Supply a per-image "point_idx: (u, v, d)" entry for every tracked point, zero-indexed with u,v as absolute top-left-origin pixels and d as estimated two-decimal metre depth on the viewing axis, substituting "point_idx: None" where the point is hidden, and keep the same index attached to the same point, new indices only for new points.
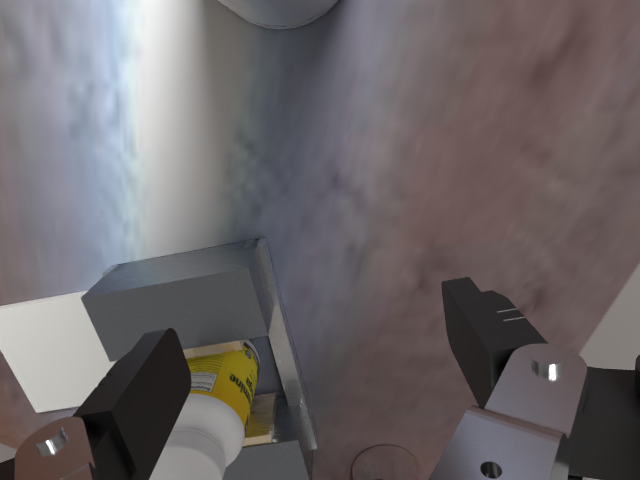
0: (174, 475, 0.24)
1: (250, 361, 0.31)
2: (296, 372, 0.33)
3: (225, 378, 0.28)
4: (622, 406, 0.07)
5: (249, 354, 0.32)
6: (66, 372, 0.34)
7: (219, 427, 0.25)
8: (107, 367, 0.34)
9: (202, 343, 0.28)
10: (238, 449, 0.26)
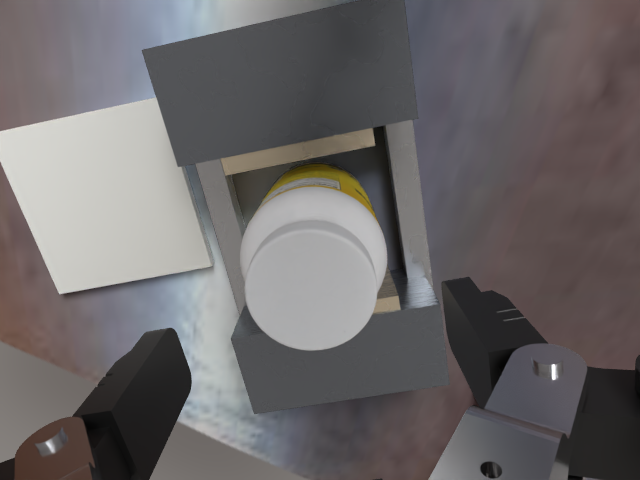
0: (300, 289, 0.14)
1: None
2: (424, 223, 0.24)
3: (351, 188, 0.19)
4: (622, 406, 0.07)
5: (363, 190, 0.23)
6: (103, 230, 0.25)
7: (360, 232, 0.16)
8: (159, 222, 0.25)
9: (318, 133, 0.19)
10: (381, 280, 0.17)
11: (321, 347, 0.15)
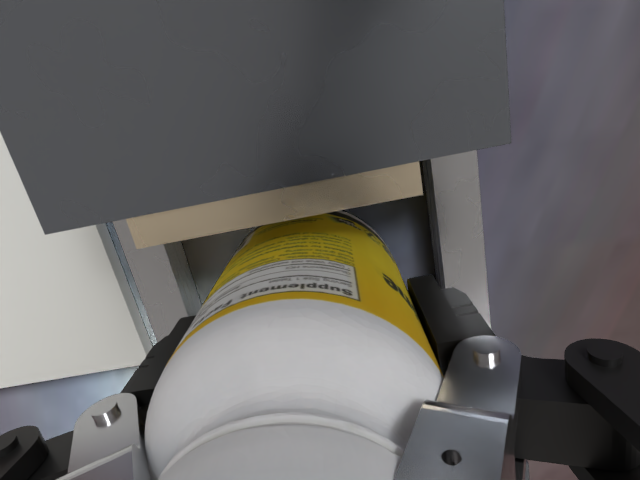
0: None
1: (397, 268, 0.13)
2: (487, 305, 0.14)
3: (377, 278, 0.10)
4: (551, 392, 0.07)
5: (390, 255, 0.13)
6: None
7: (407, 414, 0.07)
8: (63, 299, 0.16)
9: (311, 172, 0.09)
10: None
11: None
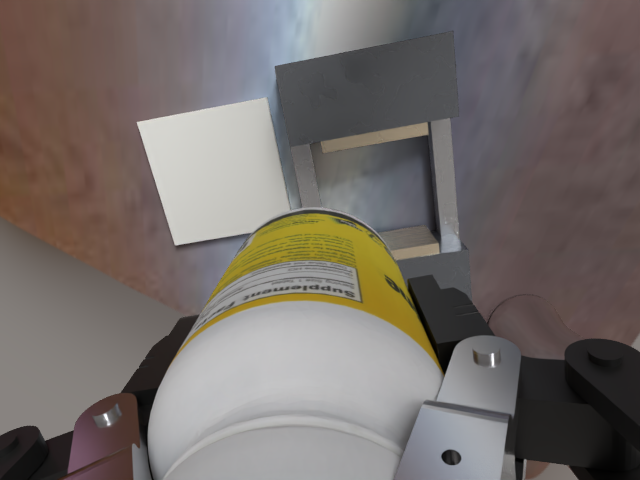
0: None
1: (398, 269, 0.13)
2: (455, 194, 0.32)
3: (379, 280, 0.10)
4: (551, 392, 0.07)
5: (392, 257, 0.13)
6: (214, 196, 0.33)
7: (410, 417, 0.07)
8: (257, 191, 0.33)
9: (389, 125, 0.27)
10: None
11: None
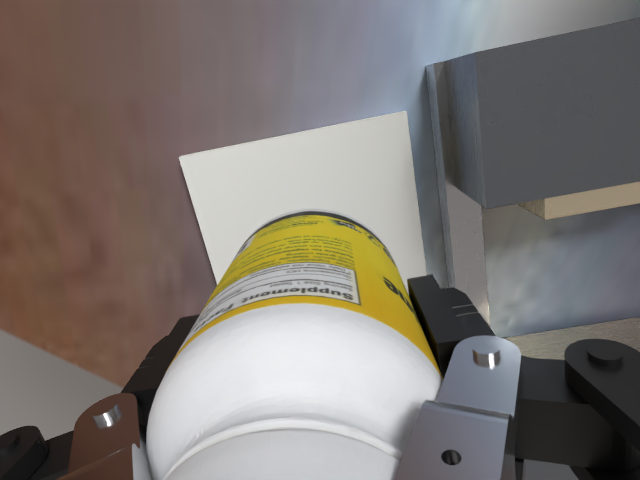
0: None
1: (397, 270, 0.13)
2: None
3: (378, 282, 0.10)
4: (551, 392, 0.07)
5: (391, 258, 0.13)
6: None
7: (408, 419, 0.07)
8: None
9: None
10: None
11: None
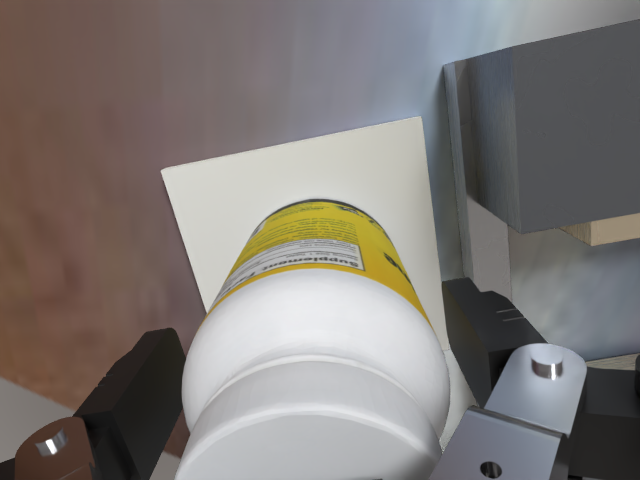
0: None
1: (396, 251, 0.14)
2: None
3: (379, 256, 0.11)
4: (622, 406, 0.07)
5: (390, 240, 0.15)
6: None
7: (406, 362, 0.08)
8: None
9: None
10: (440, 436, 0.09)
11: None
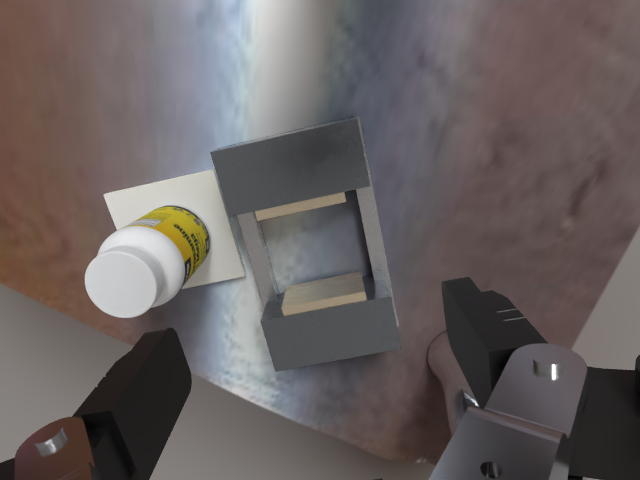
0: (114, 283, 0.27)
1: (198, 226, 0.34)
2: (383, 245, 0.36)
3: (169, 224, 0.31)
4: (622, 406, 0.07)
5: (198, 222, 0.35)
6: None
7: (158, 251, 0.28)
8: (210, 248, 0.38)
9: (312, 195, 0.32)
10: (178, 278, 0.29)
11: (131, 316, 0.27)
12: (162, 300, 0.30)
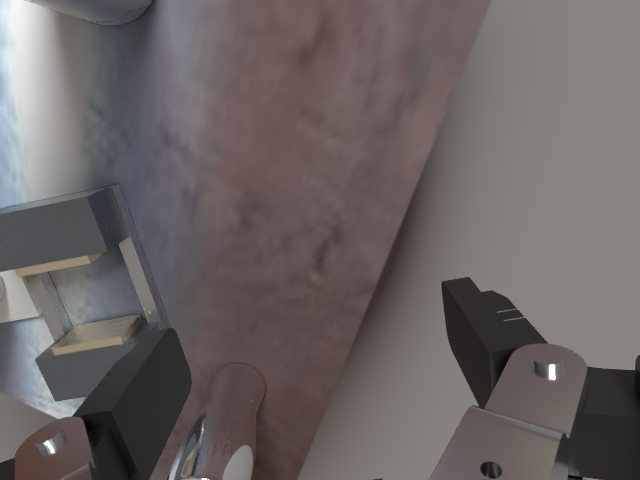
0: None
1: None
2: (151, 293, 0.42)
3: None
4: (622, 406, 0.07)
5: None
6: None
7: None
8: (6, 292, 0.43)
9: (60, 258, 0.37)
10: None
11: None
12: None
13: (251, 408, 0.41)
